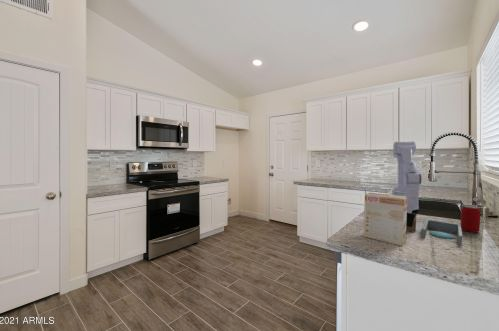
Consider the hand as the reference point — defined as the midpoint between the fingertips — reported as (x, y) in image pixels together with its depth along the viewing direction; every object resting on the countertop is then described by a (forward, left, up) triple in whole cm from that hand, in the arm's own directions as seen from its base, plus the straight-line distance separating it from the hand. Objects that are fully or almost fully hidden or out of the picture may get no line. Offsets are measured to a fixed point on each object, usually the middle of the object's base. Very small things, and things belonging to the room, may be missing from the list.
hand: (410, 224), depth 113 cm
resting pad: (-1, +12, -3) cm, 12 cm away
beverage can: (-18, +22, -3) cm, 29 cm away
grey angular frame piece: (-1, +12, -3) cm, 12 cm away
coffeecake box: (+22, -7, -3) cm, 23 cm away
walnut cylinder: (0, 0, -3) cm, 3 cm away
